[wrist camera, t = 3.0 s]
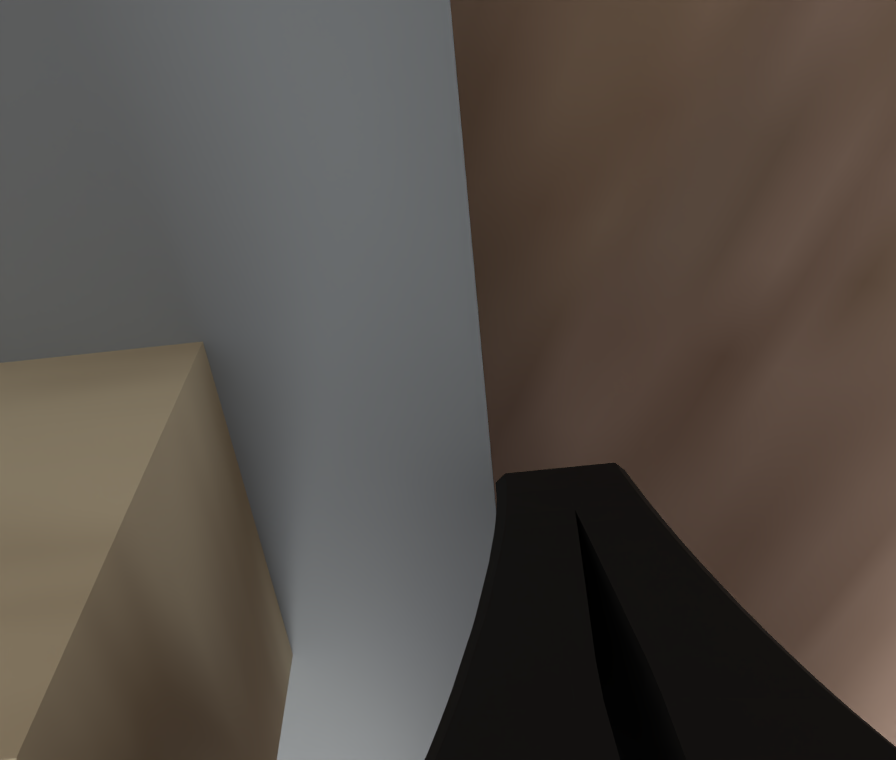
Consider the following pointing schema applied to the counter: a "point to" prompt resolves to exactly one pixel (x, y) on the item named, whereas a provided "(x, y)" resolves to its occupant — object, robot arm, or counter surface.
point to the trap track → (279, 302)
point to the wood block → (131, 567)
